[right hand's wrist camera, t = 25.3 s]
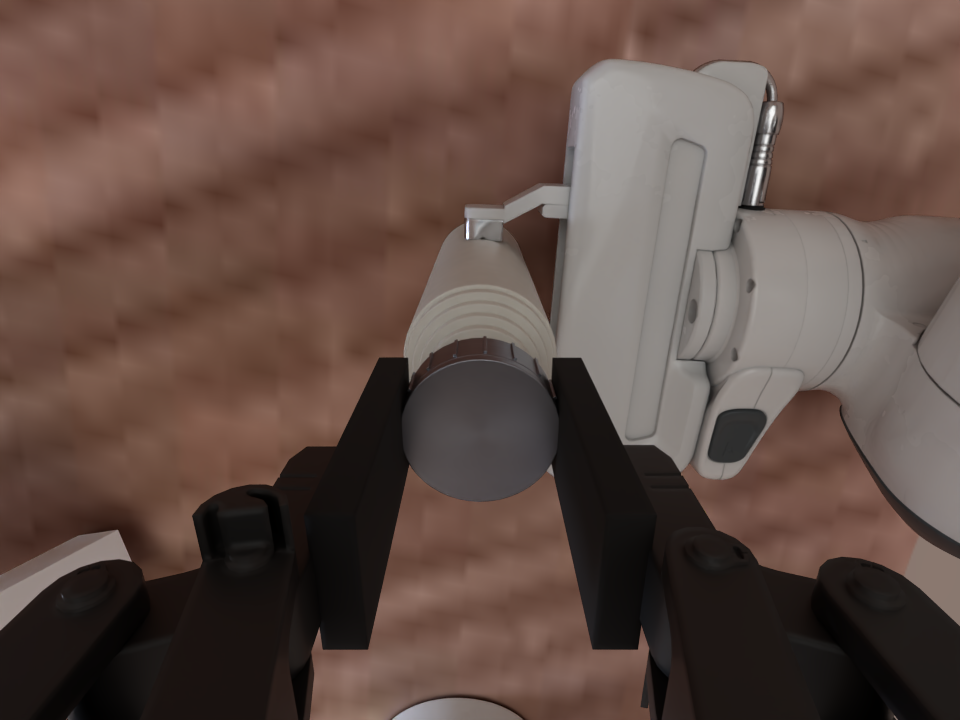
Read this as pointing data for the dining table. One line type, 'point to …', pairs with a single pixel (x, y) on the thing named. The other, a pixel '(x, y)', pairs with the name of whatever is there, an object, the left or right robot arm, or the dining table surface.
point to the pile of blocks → (55, 569)
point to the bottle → (480, 301)
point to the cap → (480, 420)
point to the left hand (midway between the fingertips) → (462, 288)
